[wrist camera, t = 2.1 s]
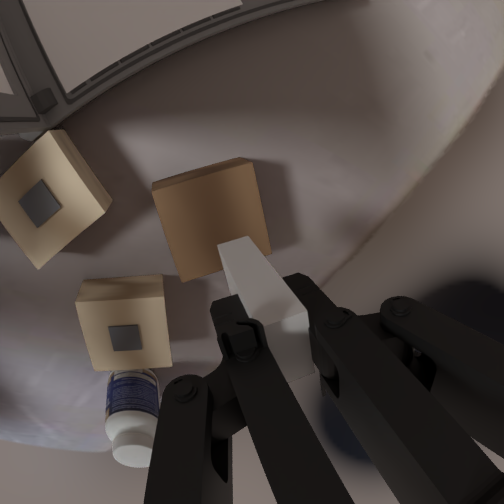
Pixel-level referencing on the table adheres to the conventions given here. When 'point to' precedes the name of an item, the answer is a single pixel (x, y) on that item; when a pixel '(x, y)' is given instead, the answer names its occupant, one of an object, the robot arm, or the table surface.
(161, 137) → the table surface
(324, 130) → the table surface
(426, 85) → the table surface
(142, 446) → the pill bottle
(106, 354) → the marked block
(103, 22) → the laptop
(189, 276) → the walnut block
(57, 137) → the marked block
